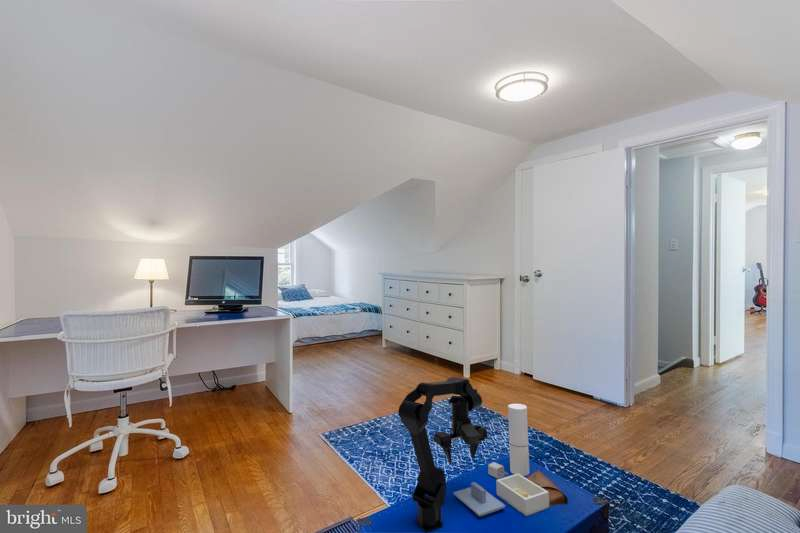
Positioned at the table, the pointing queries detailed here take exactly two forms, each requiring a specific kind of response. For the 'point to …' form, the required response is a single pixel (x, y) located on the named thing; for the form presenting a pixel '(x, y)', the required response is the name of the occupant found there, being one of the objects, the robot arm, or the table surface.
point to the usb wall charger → (496, 470)
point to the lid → (479, 500)
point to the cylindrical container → (518, 439)
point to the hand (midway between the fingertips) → (461, 460)
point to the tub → (522, 494)
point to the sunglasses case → (548, 488)
